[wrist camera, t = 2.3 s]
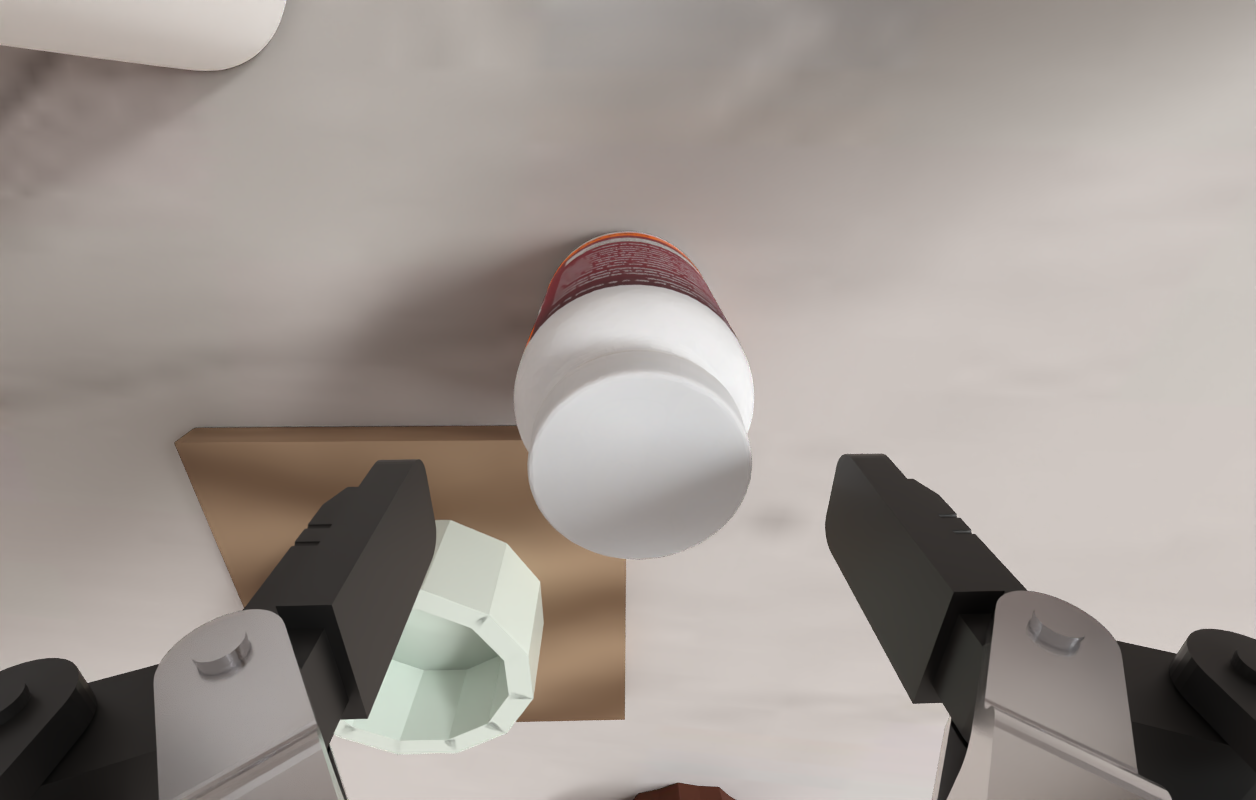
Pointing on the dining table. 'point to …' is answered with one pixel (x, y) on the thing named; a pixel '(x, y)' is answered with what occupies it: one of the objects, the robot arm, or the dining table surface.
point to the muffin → (685, 793)
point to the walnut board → (460, 491)
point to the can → (145, 29)
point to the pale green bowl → (459, 652)
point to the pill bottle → (634, 401)
